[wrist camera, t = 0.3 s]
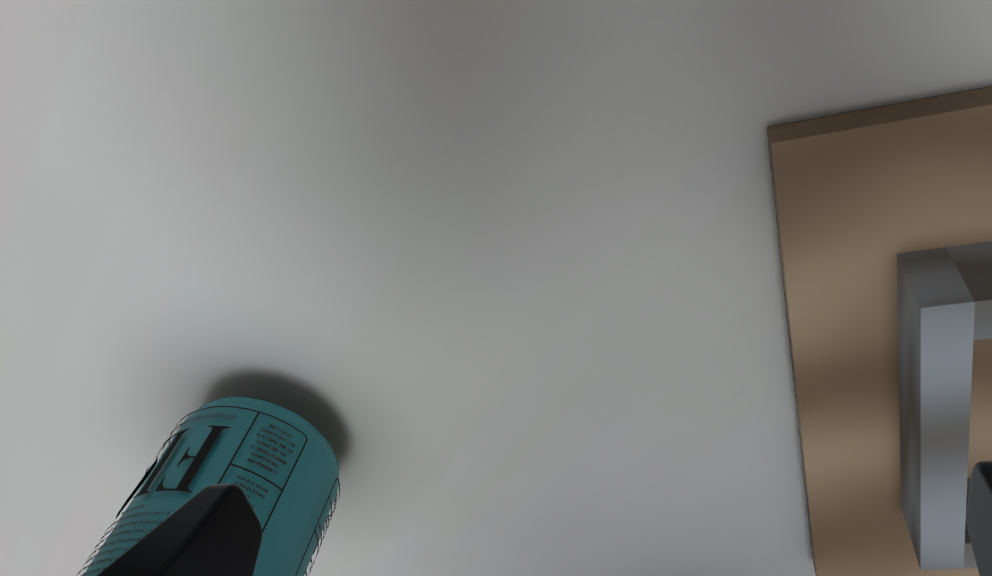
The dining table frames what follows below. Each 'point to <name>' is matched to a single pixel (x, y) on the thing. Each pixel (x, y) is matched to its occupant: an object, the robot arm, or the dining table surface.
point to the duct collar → (889, 326)
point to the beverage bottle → (240, 481)
